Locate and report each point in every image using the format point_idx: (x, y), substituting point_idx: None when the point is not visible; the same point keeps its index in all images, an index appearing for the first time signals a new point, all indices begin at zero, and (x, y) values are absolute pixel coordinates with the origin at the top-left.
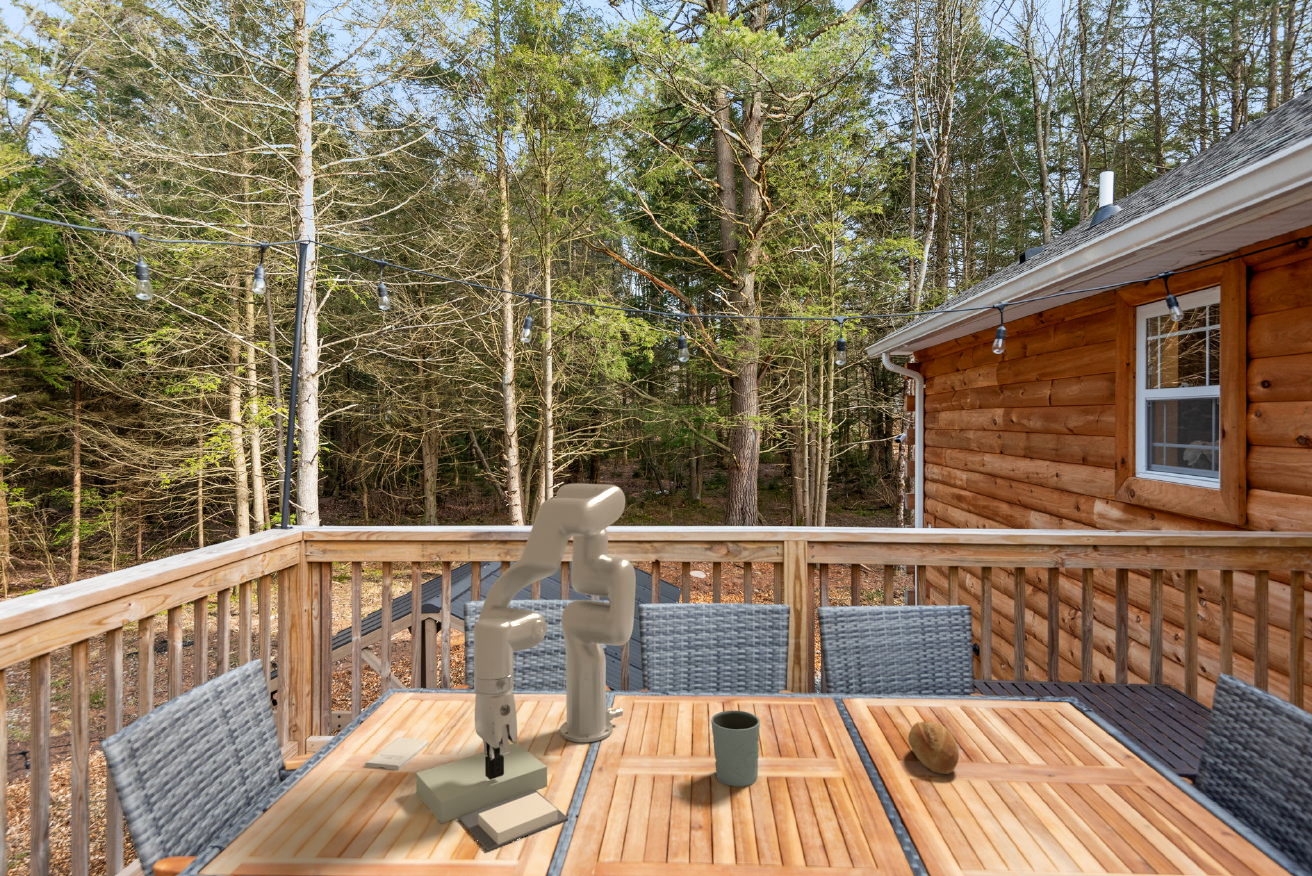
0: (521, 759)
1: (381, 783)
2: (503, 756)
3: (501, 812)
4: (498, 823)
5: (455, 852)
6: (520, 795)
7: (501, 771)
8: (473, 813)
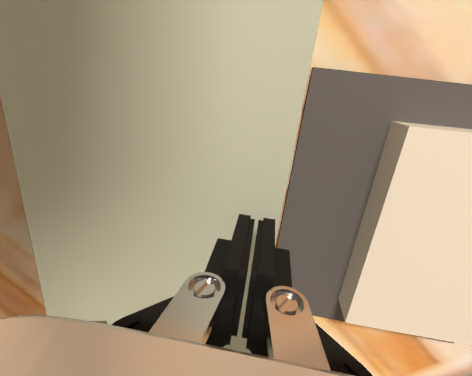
0: (159, 34)
1: (10, 313)
2: (274, 272)
3: (402, 285)
4: (445, 322)
5: (380, 368)
6: (303, 133)
7: (288, 251)
8: None
